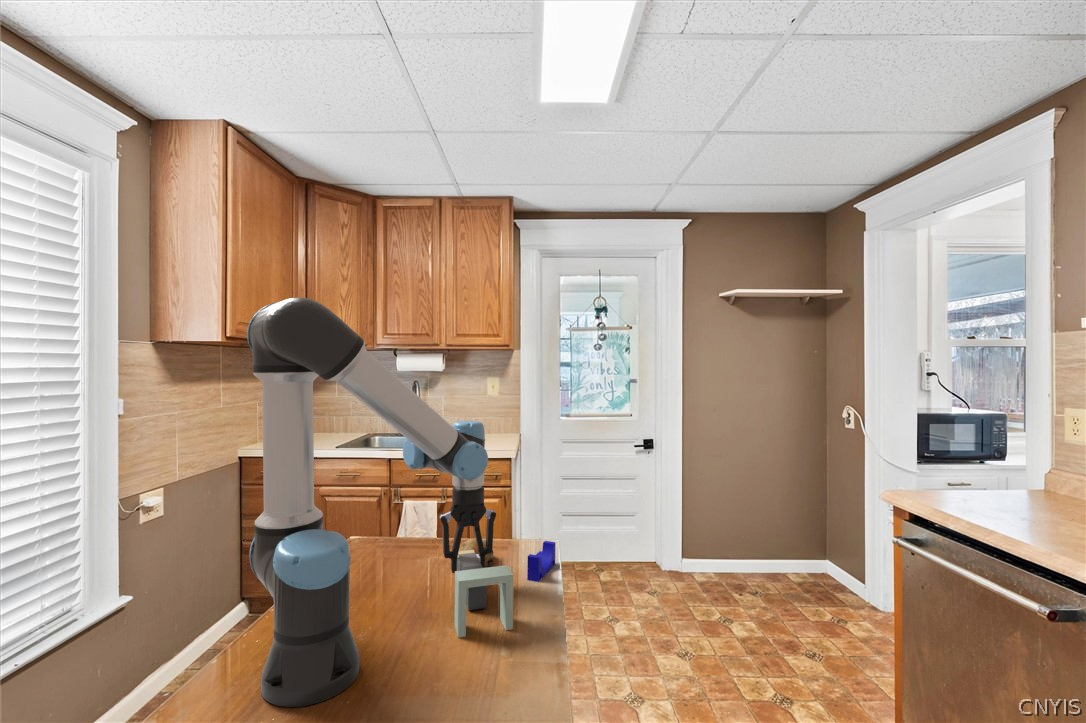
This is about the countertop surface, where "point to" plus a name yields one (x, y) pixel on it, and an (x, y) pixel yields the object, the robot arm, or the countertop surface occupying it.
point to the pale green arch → (484, 578)
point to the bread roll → (473, 546)
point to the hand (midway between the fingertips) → (467, 584)
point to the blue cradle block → (541, 562)
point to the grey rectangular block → (474, 595)
